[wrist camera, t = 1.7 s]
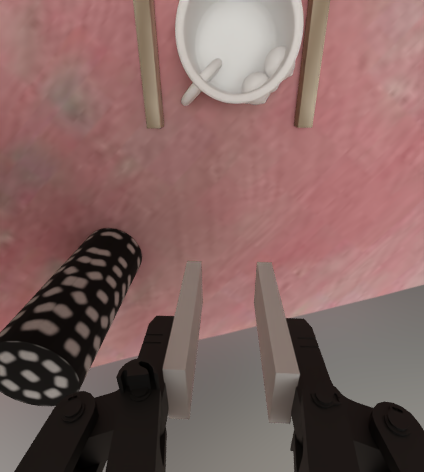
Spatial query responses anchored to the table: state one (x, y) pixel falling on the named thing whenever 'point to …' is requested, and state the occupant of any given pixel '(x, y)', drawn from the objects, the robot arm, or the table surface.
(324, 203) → the table surface
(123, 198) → the table surface
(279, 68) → the mug
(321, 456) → the robot arm
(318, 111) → the table surface
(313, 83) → the guide channel
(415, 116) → the table surface
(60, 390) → the spotted tube
